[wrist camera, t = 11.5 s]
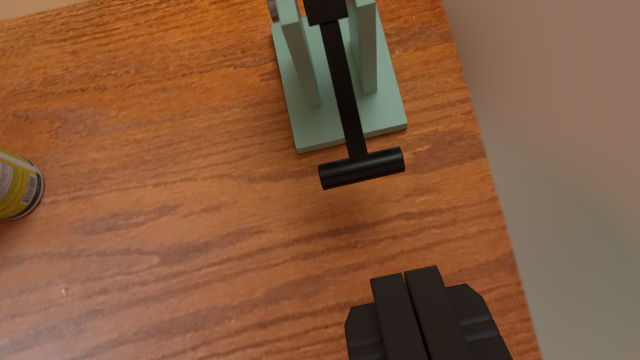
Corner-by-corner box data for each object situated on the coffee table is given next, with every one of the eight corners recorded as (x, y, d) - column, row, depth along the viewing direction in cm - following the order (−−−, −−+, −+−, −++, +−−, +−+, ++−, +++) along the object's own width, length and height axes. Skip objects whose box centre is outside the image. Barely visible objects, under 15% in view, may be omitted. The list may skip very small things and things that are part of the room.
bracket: (407, 128, 40) (418, 44, 28) (298, 154, 40) (261, 82, 28) (375, 7, 42) (372, -120, 30) (273, 32, 43) (229, -83, 30)
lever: (401, 166, 34) (408, 176, 32) (323, 184, 35) (323, 195, 32) (359, -39, 31) (363, -44, 29) (273, -17, 32) (270, -21, 29)
